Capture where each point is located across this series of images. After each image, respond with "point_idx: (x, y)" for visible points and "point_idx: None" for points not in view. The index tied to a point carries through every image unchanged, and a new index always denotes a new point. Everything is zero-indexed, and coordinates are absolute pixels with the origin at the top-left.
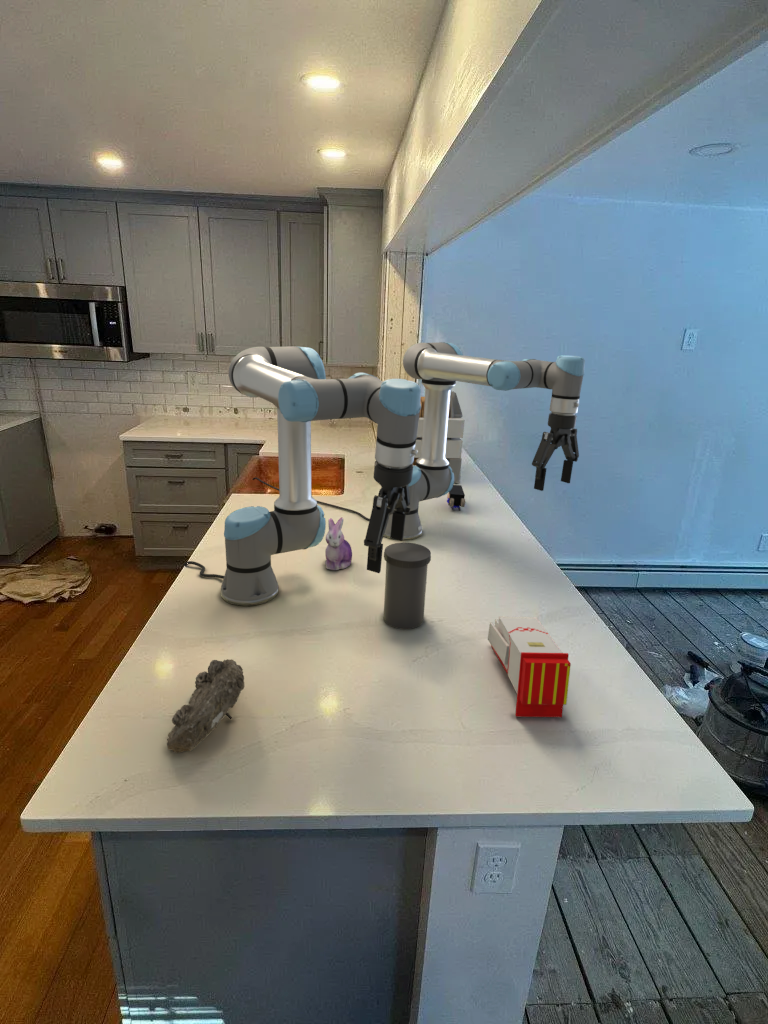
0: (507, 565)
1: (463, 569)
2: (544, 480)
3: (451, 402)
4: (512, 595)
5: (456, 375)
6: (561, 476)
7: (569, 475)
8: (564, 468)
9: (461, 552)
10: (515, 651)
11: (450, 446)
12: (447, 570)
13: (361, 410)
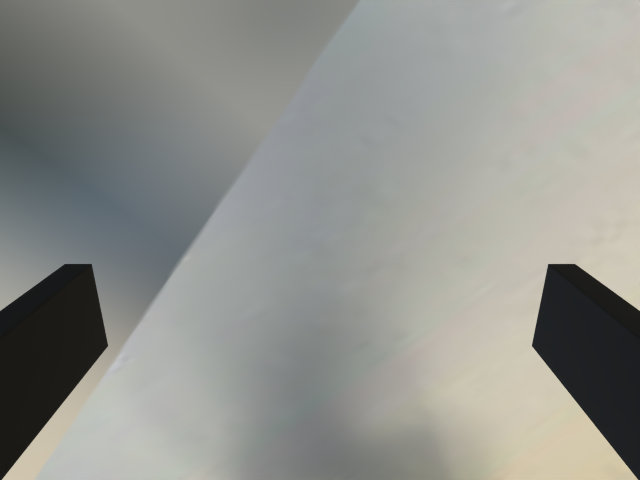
0: (361, 246)
1: (493, 303)
2: (626, 319)
3: None
4: (540, 102)
5: None
6: (83, 375)
7: (41, 309)
8: (14, 433)
9: (397, 377)
10: None
11: None
12: (533, 324)
13: None
